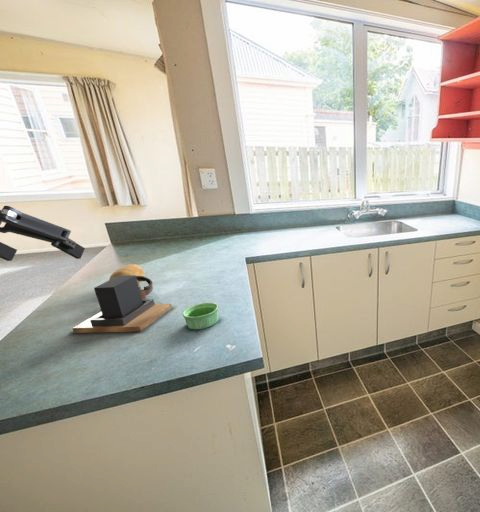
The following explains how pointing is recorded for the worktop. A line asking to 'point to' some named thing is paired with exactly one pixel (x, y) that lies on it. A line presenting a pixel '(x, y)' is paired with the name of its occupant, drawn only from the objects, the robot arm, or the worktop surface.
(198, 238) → the worktop surface
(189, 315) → the ramekin
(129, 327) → the wooden base board
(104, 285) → the dark gray block
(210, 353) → the worktop surface
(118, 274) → the tan rounded piece
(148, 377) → the worktop surface
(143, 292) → the pottery mug
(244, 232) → the worktop surface
